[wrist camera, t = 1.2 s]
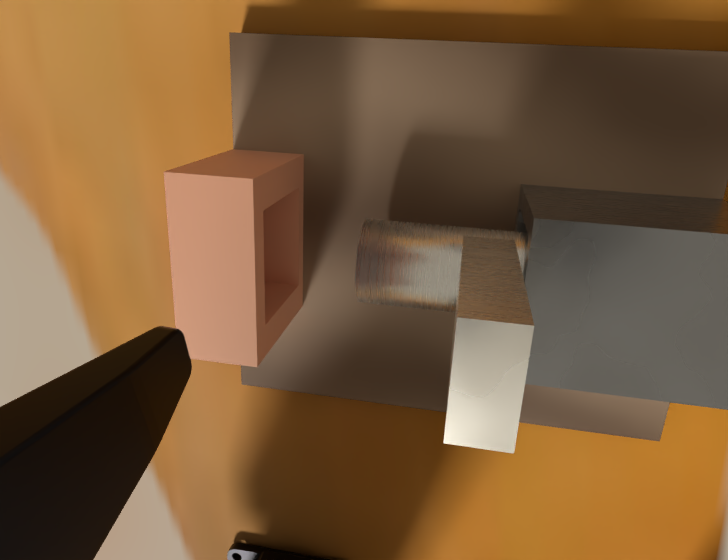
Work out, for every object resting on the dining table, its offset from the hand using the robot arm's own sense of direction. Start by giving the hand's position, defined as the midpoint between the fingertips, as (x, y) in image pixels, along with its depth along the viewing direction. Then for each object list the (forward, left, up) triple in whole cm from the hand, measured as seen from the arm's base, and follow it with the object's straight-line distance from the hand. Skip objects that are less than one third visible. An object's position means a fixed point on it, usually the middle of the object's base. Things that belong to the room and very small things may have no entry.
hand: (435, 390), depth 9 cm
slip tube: (-1, -3, -11) cm, 12 cm away
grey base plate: (-1, 0, -13) cm, 14 cm away
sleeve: (-1, -5, -13) cm, 15 cm away
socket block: (-1, +7, -13) cm, 15 cm away
